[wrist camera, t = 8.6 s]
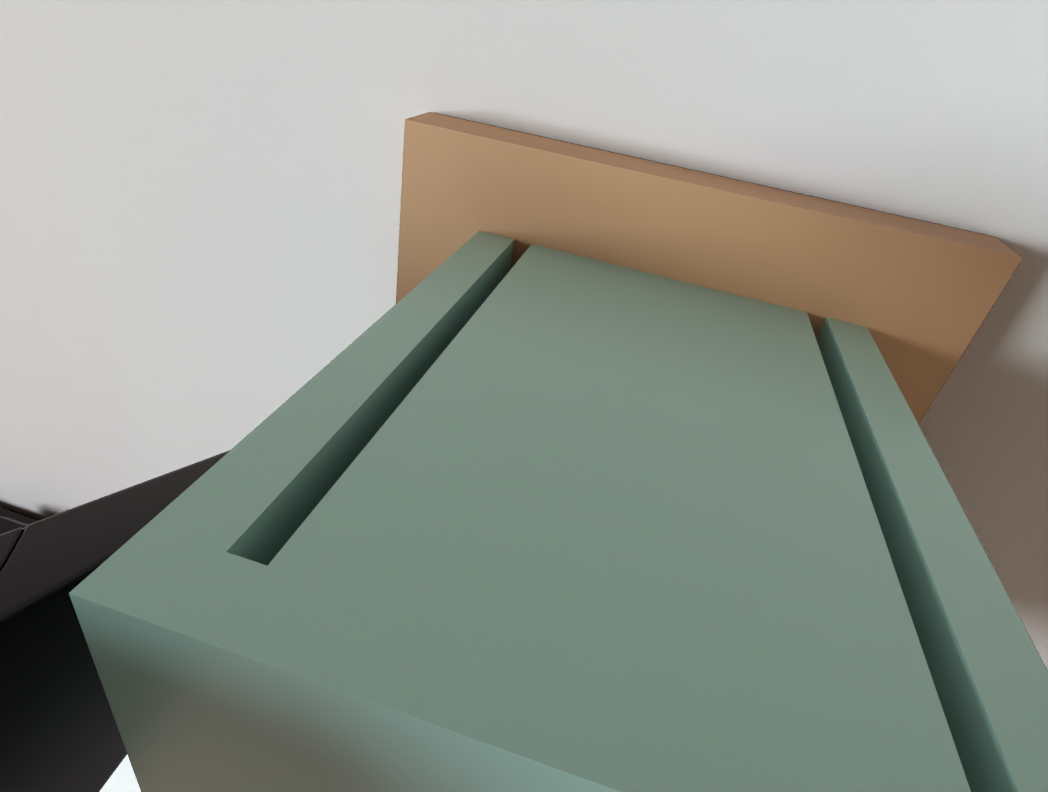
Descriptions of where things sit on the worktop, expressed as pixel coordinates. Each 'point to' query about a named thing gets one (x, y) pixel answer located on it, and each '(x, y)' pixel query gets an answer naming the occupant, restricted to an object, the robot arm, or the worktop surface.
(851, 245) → the tan base with block
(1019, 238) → the worktop surface
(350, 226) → the worktop surface
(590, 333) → the slotted green cube
